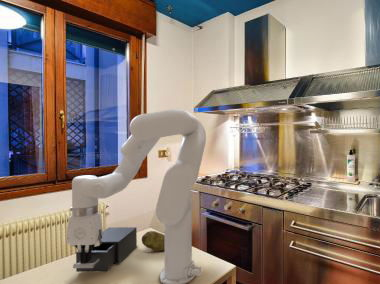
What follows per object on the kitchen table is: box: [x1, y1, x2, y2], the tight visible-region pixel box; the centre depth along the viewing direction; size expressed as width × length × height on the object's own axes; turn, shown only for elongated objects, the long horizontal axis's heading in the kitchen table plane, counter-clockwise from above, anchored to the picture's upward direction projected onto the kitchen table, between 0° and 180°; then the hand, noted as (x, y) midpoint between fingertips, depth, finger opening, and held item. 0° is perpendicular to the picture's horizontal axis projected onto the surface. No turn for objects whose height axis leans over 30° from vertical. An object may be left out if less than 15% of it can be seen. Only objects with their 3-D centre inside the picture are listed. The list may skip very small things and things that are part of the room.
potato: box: [141, 230, 165, 252], centre depth 102 cm, size 8×13×8 cm, turn 81°
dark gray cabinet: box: [101, 226, 138, 265], centre depth 97 cm, size 15×13×9 cm
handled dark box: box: [72, 244, 117, 273], centre depth 88 cm, size 18×11×7 cm, turn 1°
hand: (85, 261), depth 81 cm, fingers closed
